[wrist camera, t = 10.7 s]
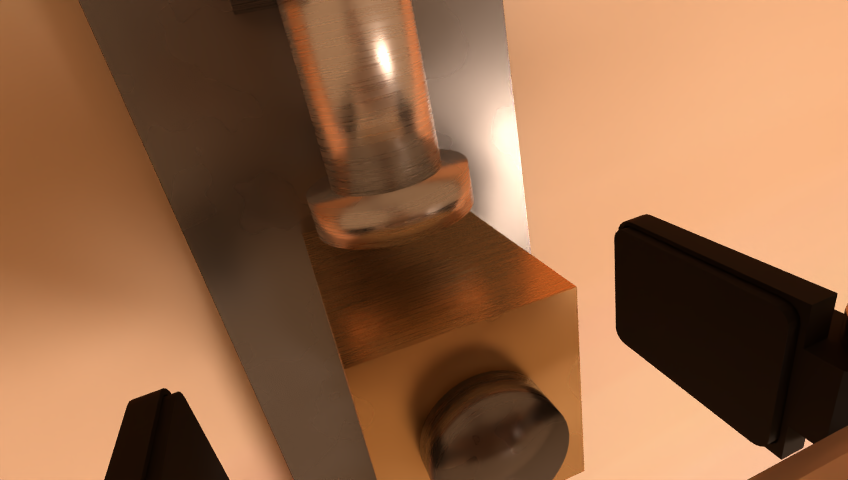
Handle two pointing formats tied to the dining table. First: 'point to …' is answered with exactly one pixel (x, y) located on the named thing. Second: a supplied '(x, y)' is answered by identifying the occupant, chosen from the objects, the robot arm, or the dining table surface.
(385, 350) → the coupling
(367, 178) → the shaft rig
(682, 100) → the dining table surface
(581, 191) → the dining table surface
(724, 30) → the dining table surface
